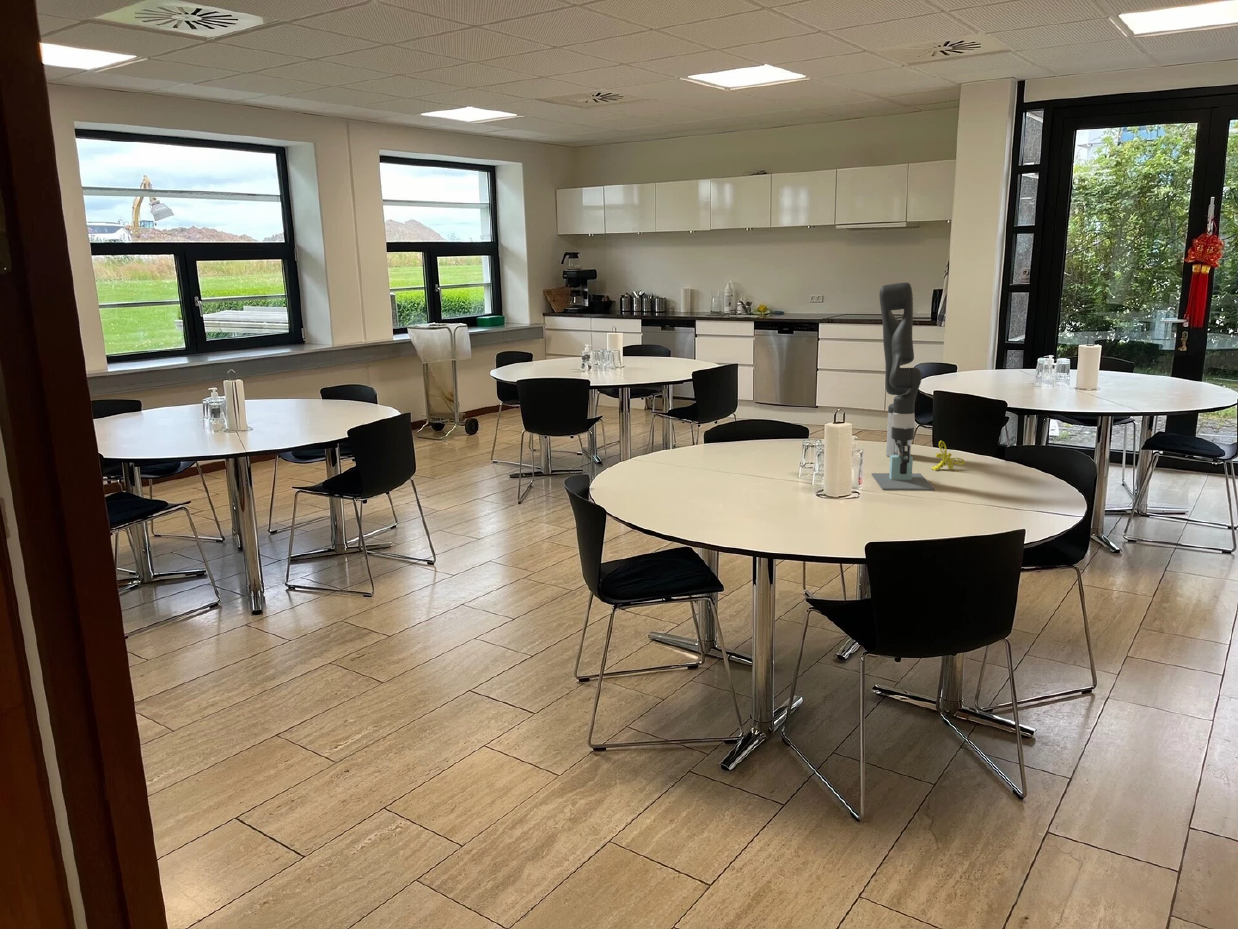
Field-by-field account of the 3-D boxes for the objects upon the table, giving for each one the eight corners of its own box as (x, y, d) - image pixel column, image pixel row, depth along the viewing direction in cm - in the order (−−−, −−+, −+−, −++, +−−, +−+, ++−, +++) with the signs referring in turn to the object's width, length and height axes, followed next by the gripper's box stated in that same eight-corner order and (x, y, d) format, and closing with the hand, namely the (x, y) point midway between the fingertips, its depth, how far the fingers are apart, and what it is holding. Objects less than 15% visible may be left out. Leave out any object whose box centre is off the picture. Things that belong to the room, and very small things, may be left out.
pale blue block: (889, 477, 320) (890, 455, 318) (909, 477, 319) (910, 455, 317) (891, 479, 316) (892, 457, 314) (911, 479, 315) (912, 457, 314)
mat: (871, 474, 326) (871, 473, 326) (920, 474, 325) (920, 473, 324) (882, 490, 305) (882, 488, 305) (934, 490, 303) (934, 488, 303)
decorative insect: (945, 481, 335) (964, 461, 334) (949, 483, 332) (968, 463, 331) (921, 460, 332) (940, 439, 331) (925, 462, 329) (944, 441, 328)
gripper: (888, 421, 321) (886, 466, 324) (895, 429, 307) (893, 475, 310) (909, 421, 320) (907, 466, 323) (918, 429, 306) (916, 475, 310)
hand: (900, 471), depth 317 cm, fingers open, 8 cm apart
